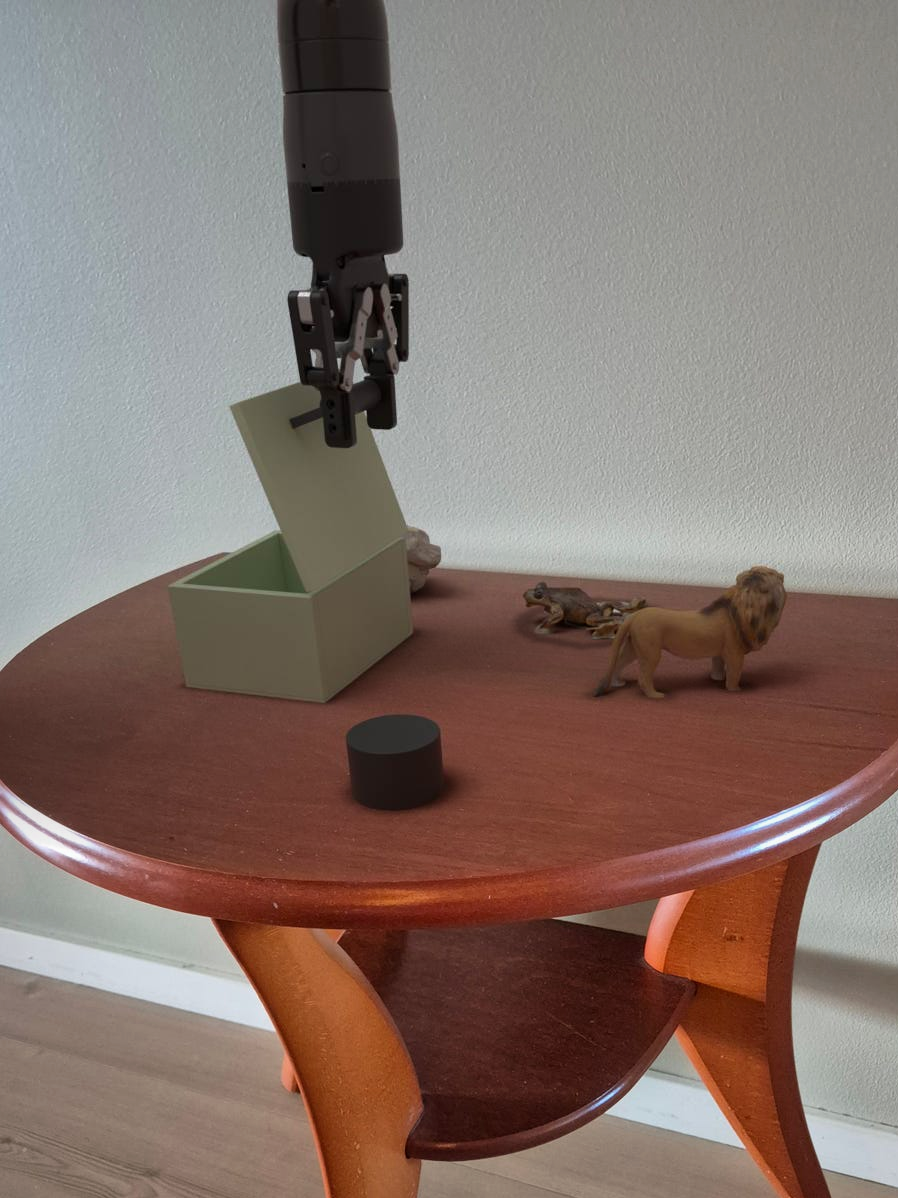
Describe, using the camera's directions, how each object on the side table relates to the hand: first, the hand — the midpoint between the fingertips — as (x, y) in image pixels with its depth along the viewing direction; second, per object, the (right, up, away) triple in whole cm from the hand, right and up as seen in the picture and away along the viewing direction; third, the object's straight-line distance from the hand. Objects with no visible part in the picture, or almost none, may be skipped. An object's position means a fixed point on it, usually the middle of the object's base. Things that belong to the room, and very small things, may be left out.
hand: (362, 436), depth 87 cm
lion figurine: (+25, -18, +3) cm, 31 cm away
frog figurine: (+18, -11, +16) cm, 27 cm away
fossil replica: (-1, -6, +28) cm, 28 cm away
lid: (-3, -2, +3) cm, 5 cm away
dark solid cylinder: (+3, -27, -10) cm, 29 cm away
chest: (-6, -15, +12) cm, 20 cm away
